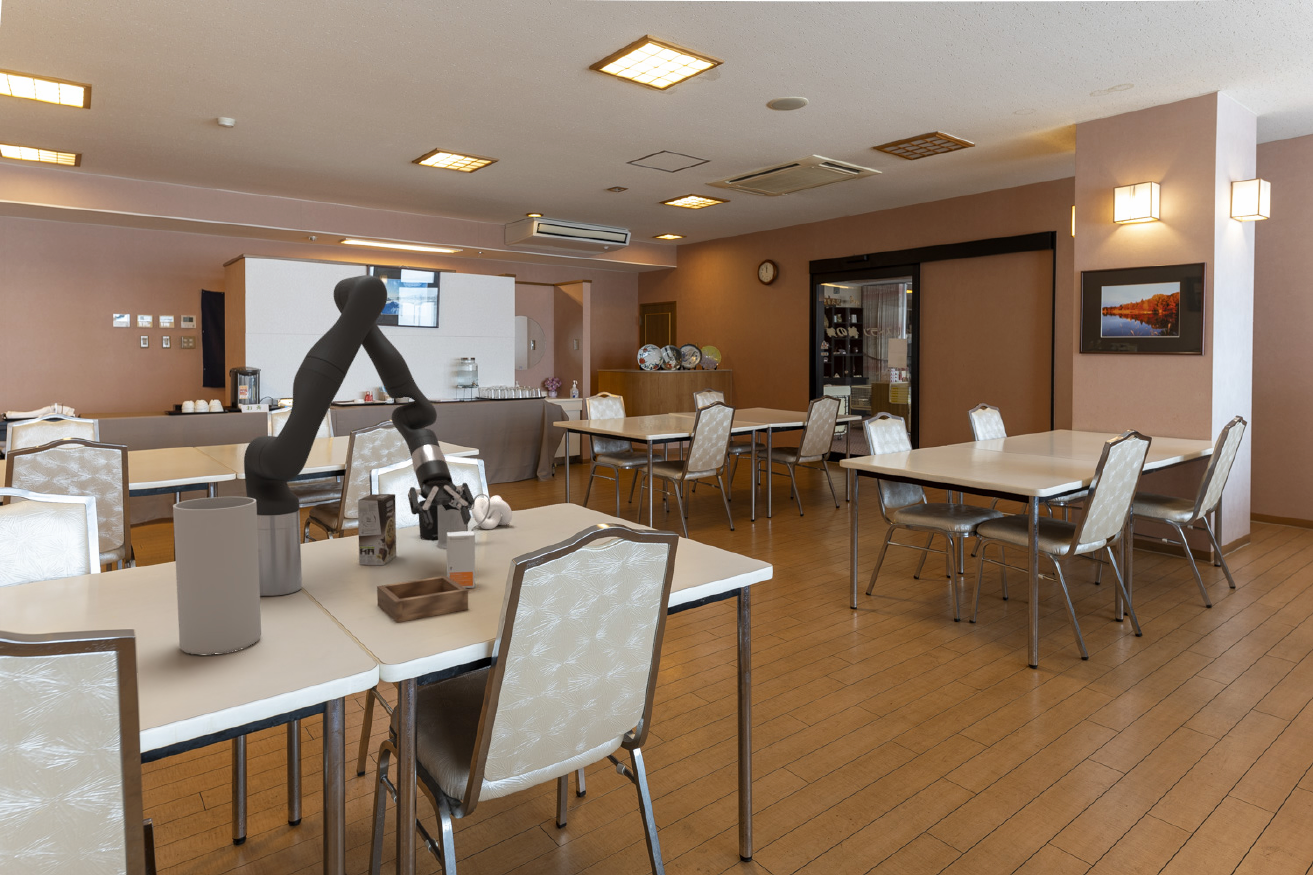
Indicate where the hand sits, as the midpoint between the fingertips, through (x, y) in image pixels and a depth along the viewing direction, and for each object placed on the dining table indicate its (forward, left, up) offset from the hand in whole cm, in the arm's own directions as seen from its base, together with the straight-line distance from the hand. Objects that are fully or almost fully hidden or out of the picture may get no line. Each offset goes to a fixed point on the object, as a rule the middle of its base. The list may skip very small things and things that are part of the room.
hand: (449, 524), depth 179 cm
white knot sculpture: (+31, +47, -13) cm, 58 cm away
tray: (-12, -17, -13) cm, 24 cm away
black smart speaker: (+12, +43, -13) cm, 46 cm away
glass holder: (+15, +30, -13) cm, 36 cm away
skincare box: (0, -7, -13) cm, 15 cm away
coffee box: (-9, +25, -13) cm, 30 cm away
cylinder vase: (-48, -18, -13) cm, 53 cm away
